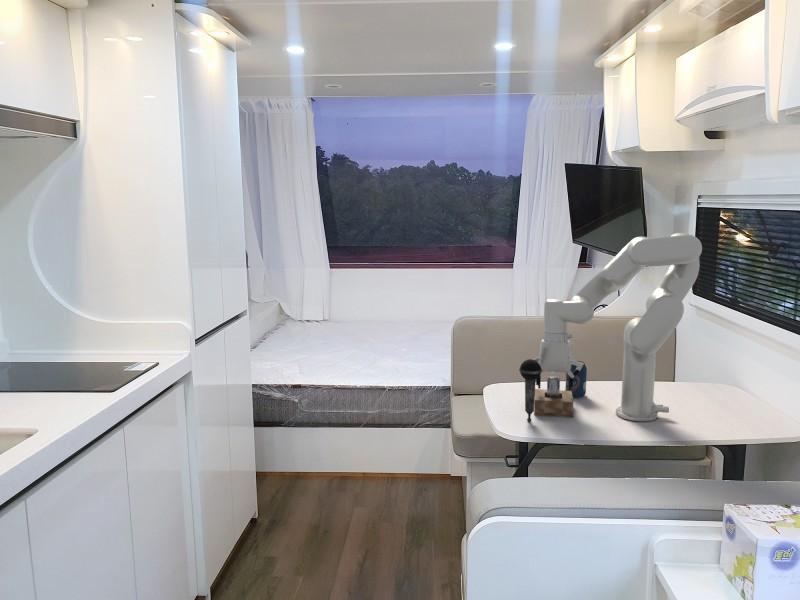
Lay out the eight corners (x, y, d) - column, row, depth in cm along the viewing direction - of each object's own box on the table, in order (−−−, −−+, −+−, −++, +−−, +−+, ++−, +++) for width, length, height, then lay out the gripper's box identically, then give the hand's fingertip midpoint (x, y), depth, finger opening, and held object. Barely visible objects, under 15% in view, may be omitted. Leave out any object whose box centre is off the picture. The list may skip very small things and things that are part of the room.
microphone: (540, 418, 201) (542, 357, 198) (540, 426, 194) (542, 363, 191) (518, 417, 202) (519, 356, 199) (517, 424, 196) (519, 361, 192)
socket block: (570, 405, 213) (571, 391, 213) (572, 417, 202) (573, 402, 201) (534, 403, 216) (534, 389, 215) (534, 414, 204) (534, 400, 204)
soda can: (561, 396, 223) (562, 363, 221) (570, 391, 228) (571, 359, 227) (580, 400, 219) (581, 366, 217) (588, 395, 224) (590, 362, 222)
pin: (558, 405, 210) (559, 376, 209) (559, 409, 206) (560, 379, 205) (546, 404, 211) (547, 375, 210) (546, 408, 207) (547, 379, 206)
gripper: (582, 335, 207) (580, 386, 210) (528, 333, 210) (527, 383, 213) (584, 340, 200) (582, 393, 202) (528, 338, 203) (527, 390, 206)
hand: (554, 388), depth 208 cm, fingers open, 9 cm apart
